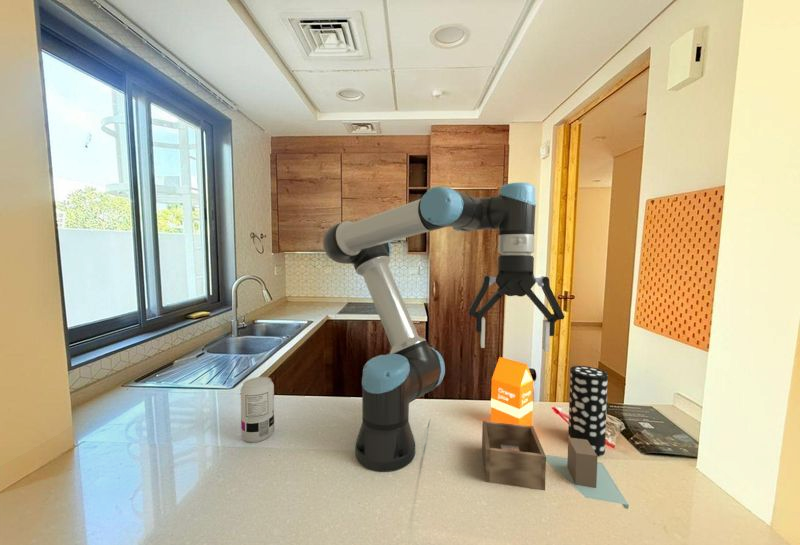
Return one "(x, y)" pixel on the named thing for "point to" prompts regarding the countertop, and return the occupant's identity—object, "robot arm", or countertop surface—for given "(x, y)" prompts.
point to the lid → (586, 472)
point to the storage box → (513, 455)
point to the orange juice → (512, 393)
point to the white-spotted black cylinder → (588, 406)
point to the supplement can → (257, 409)
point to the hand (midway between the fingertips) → (513, 348)
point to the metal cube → (510, 447)
